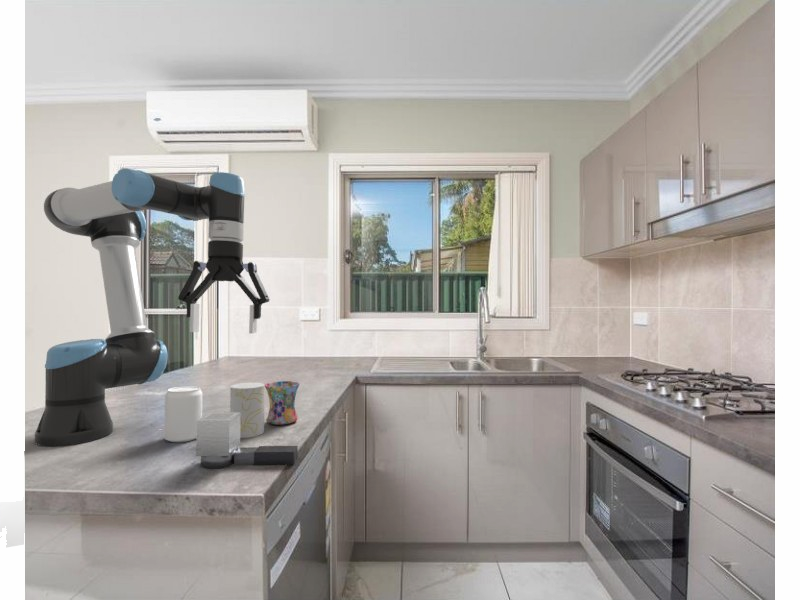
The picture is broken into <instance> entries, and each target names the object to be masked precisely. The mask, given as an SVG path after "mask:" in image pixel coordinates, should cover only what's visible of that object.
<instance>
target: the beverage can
mask: <svg viewBox="0 0 800 600" xmlns="http://www.w3.org/2000/svg"><path fill="white" fill-rule="evenodd" d="M202 417H203V391H202V390H201V387H200V386H198V385H197V386H196V385H185V386H177V387H170V388H168V389H167V392H166V393H165V396H164V440H166V441H169V442H170V443H171V442H172V443H185V442H191V441H193V440H194V441H195V440H196V433H197V420H198V419H200V418H202Z"/></svg>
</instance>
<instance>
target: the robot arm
mask: <svg viewBox="0 0 800 600" xmlns="http://www.w3.org/2000/svg"><path fill="white" fill-rule="evenodd" d="M208 183H209V185H207V186H201V187H200V186H193V185H190V184H186V183H182V182H180V181H175V180H172V179H168V178H165V177H161V176H158V175H154V174H151V173H148V172H146V171H142V170H140V169H132V168H127V167H125V168H121V169H118V171H117V173H115V174H114V176H113V178H112V180H111V181H107V182H106V181H105V182H102V183H97V184H95V185H94V184H93V185H90V186H85V187H82V188H75V187H63V188H59V189H56V190H54V191H52V192H50V193H49V194H48V195H47V196H46V197H45V199H44V202H43V212H44V215H45V217H46V218H47V220H48V221H49V222H50V223H51V224H53V226H54V227H56V228H58V229H59V230H61V231H63V232H65V233H68V234H72V235H75V236H83V237H89V238H90V243H91V246H92V248H93V249H95V250H97V251H98V254H99V259H100V260H99V261H100V265H101V273H102V280H103V287H104V293H105V301H106V308H107V315H108V321H109V329H110V333H109V334H108V335H107V337H105V339H104V338H90V339H81V340H74V341H68V342H67V341H66V342H64V343H59V344H55V345H54V346H51V347H50V348H48V350H47V352H46V359H45V365H44V368H45V391H44V392H45V400H44V402H45V403H44V404H45V405H44V410H43V413H42V415H41V418H40V421H39V423H38V425H37V428H36V430H35V432H34V444H36V443H37V444H36V445H38V444H39V445H38V446H43V445H45V446H46V447H57V446H59V447H60V446H68V445H76V444H81V443H86V442H91V441H95V440H99V439H102V438H104V437H107V436H109V435H110V434H112V433H113V431H114V422H113V420H112V418H111V414H110V412H109V409H108V406H107V404H106V390H109V389H114V388H120V387H126V386H135V385H144V384H146V383H151V382H155V381H156V380H158V379H159V378H160V377H161V376H163V373H164V372H165V369H166V368H167V364H168V355H169V354H168V349H167V346H166V344H164V341H162V340H159V339H156V336H155V331H153V330H152V329H150V328H148V325H147V318H146V317H147V316H146V312H145V305H144V300H143V293H142V286H141V285H142V284H141V279H140V274H139V273H140V272H139V268H138V260H137V256H136V249H137V248H138V247H139V246H140V245H141V242H142V241H143V239H144V238H145V236H146V230H147V221H146V217H145V214H144V212H143V211H147V210H149V211H156V212H161V213H164V214H170V215H175V216H177V217H179V218H180V219H182V220H183V221H184V220H185V221H194V222H199V221H203V220H208V239H209V241H208V242H207V245H208V246H207V258H208V260H207V262H203V261H200V260H199V261H198V260H194V262H193V265H192V270H191V272H190V275H189V277H188V278H187V280H186V282H185V283H184V285H183V287H182V289H181V291H180V293H179V295H178V296H177V298H178V300H179V301H182V302H184V303H186V317H187V318H190V319H189V332H190V333H196V332H199V331H200V303H198V300H199V299H200V298H201V297H202V296H203V295H204V294H205V293H206V291H207V290H208V289H209V288H210V287H211V286H212V285H213V284H214V283H215V282H231V283H232V282H235V283H236V284H237V285H238V286H239V287H240V289H241V290H242V291H243V292H244V294H245V295H246V296H247V298H248V299H249V300H250V301H251V303H253V304H250V305H249V325H248V327H249V328H248V331H249V332H248V334H257V327H258V326H257V324H258V323H257V322H258V321H257V320H260V319H261V317H262V305H263V304H266V303H269V302H270V297H269V295H268V293H267V291H266V289H265V286H264V285H263V283H262V280H261V278H260V276H259V274H258V268H257V264H256V263H255V262H252V261H249V262H248V263H244V261H243V260H244V259H243V258H244V245H243V243H242V242H243V241H244V223H245V222H244V220H245V218H244V217H245V215H244V214H245V197H246V194H245V181H244V179H243V178H242V177H241V176H240V175H237V174H235V173H230V172H221V171H220V172H218V171H217V172H214V173H212V174H210V177H209V182H208ZM205 270H207V271H208V274H206V275H205V277H204V279H203V280H202V281H201V282H200V284H199V285H198V286H197V284H198V282H199V280H200V278H201V276H202V274H203V272H204V271H205ZM244 270H245V272H246V273H248V275H249V277H250V279H251V280H250V281H251V282H252V284H253V286H254V288H255V290H256V292H257V294H256V292H255V291H254V289H252V287H251V286H250V285H249V284H248V283H247V281H246V279H245V278H244V277H243V275H242V274H241V273H243V271H244ZM196 286H197V287H196ZM195 287H196V288H195Z"/></svg>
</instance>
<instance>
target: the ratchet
mask: <svg viewBox="0 0 800 600" xmlns="http://www.w3.org/2000/svg"><path fill="white" fill-rule="evenodd" d="M298 453H299V446H298V445H259V446H258V447H257V446H256V447H254V446H253V447H252V446H251V447H250V446H249V447H247V446H246V447H240V446H239V447H238V448H237V449H236V450H235V451H234V452H233V453H232V454H231V455H230V456H200V467H201V468H203V469H206V470H221V469H225V468H226V469H227V468H229V467H232V466H235V467H237V466H238V467H241V466H243V467H245V466H246V467H247V466H254V467H257V466H259V467H263V466H266V467H267V466H269V467H270V466H271V467H272V466H273V467H274V466H295V464H296V463H297V461H298V459H299V458H298V457H299V455H298Z"/></svg>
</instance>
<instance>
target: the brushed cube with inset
mask: <svg viewBox="0 0 800 600" xmlns="http://www.w3.org/2000/svg"><path fill="white" fill-rule="evenodd" d="M240 414H241V412H230V411H229V412H225V411H224V412H223V411H221V412H219V411H217V412H215V411H214V412H208V413H207V414H205V415H204V416H203V415H202V418H200V419H198V420H197V433H196V439H195V440H196V441H195V442H196V443H195V445H196V448H195V450H196V451H195V453H196V454H195V455H196V457H201V456H230V455H231V454H232V453H233V452H234V451H235V450H236V449H237V448H238V449H239V448H240V446H241V438H240Z"/></svg>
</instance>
